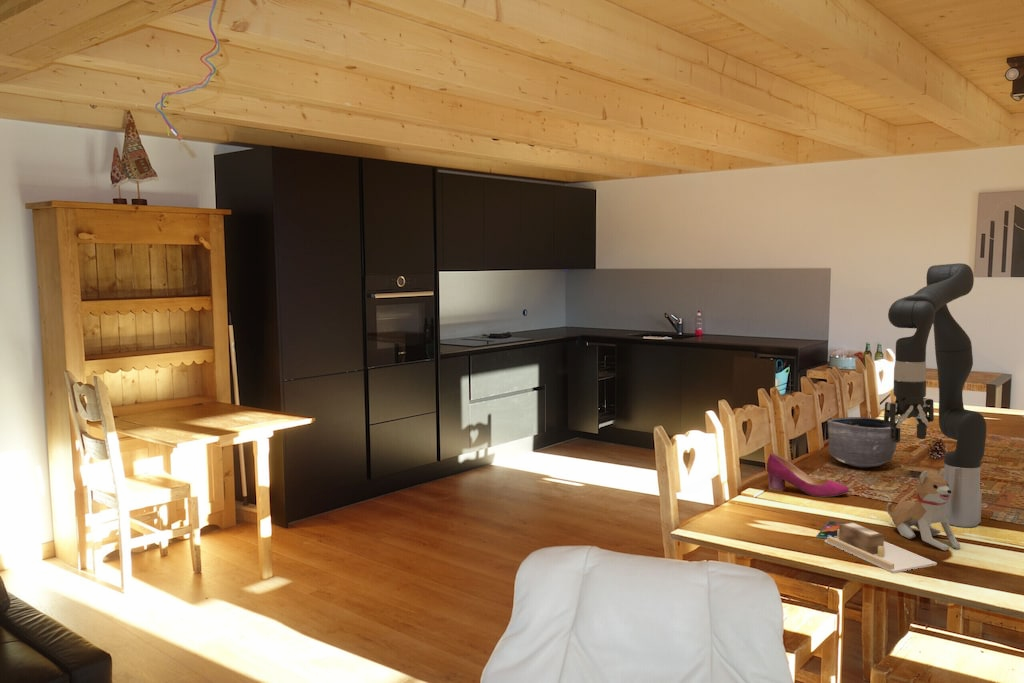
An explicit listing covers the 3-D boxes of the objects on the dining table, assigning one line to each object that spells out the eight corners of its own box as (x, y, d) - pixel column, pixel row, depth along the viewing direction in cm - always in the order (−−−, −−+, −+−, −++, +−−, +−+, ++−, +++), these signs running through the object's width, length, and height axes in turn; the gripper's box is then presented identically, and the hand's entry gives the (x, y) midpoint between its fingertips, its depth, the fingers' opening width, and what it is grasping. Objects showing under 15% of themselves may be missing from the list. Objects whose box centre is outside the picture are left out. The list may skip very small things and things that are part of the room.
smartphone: (815, 535, 224) (829, 520, 236) (815, 540, 224) (829, 524, 236) (846, 540, 219) (859, 523, 231) (846, 545, 219) (859, 528, 231)
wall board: (865, 535, 225) (865, 524, 224) (936, 565, 202) (937, 553, 202) (824, 542, 220) (824, 530, 220) (893, 573, 197) (893, 561, 197)
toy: (937, 552, 211) (939, 478, 209) (872, 524, 233) (874, 457, 231) (968, 548, 213) (971, 474, 211) (901, 521, 236) (903, 454, 234)
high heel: (850, 494, 264) (851, 457, 263) (845, 501, 257) (846, 463, 256) (770, 484, 278) (771, 449, 276) (764, 490, 270) (764, 454, 269)
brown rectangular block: (839, 541, 218) (839, 523, 218) (852, 539, 220) (852, 521, 219) (869, 555, 208) (870, 536, 208) (883, 552, 210) (883, 533, 209)
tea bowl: (908, 462, 300) (906, 416, 299) (889, 475, 284) (887, 427, 283) (840, 457, 317) (837, 413, 316) (818, 469, 300) (816, 423, 299)
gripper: (919, 374, 213) (917, 434, 215) (877, 378, 208) (875, 440, 210) (943, 378, 206) (941, 440, 208) (900, 382, 201) (898, 446, 203)
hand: (908, 440), depth 209 cm, fingers open, 8 cm apart
